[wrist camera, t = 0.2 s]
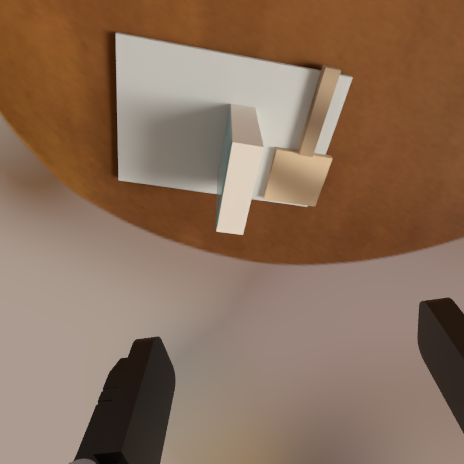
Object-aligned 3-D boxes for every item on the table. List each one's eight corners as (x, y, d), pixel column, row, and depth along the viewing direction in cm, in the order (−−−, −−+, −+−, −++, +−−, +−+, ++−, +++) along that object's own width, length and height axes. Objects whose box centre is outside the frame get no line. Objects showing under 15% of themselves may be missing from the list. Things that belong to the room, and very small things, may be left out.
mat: (117, 32, 26) (115, 33, 25) (350, 75, 28) (352, 77, 27) (120, 177, 33) (118, 180, 32) (306, 203, 35) (307, 206, 34)
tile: (229, 103, 28) (230, 141, 22) (255, 107, 29) (263, 147, 22) (216, 179, 32) (215, 231, 26) (239, 183, 33) (242, 234, 26)
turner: (298, 60, 27) (300, 62, 26) (361, 71, 27) (365, 74, 26) (263, 196, 34) (264, 201, 33) (313, 203, 34) (315, 208, 33)
